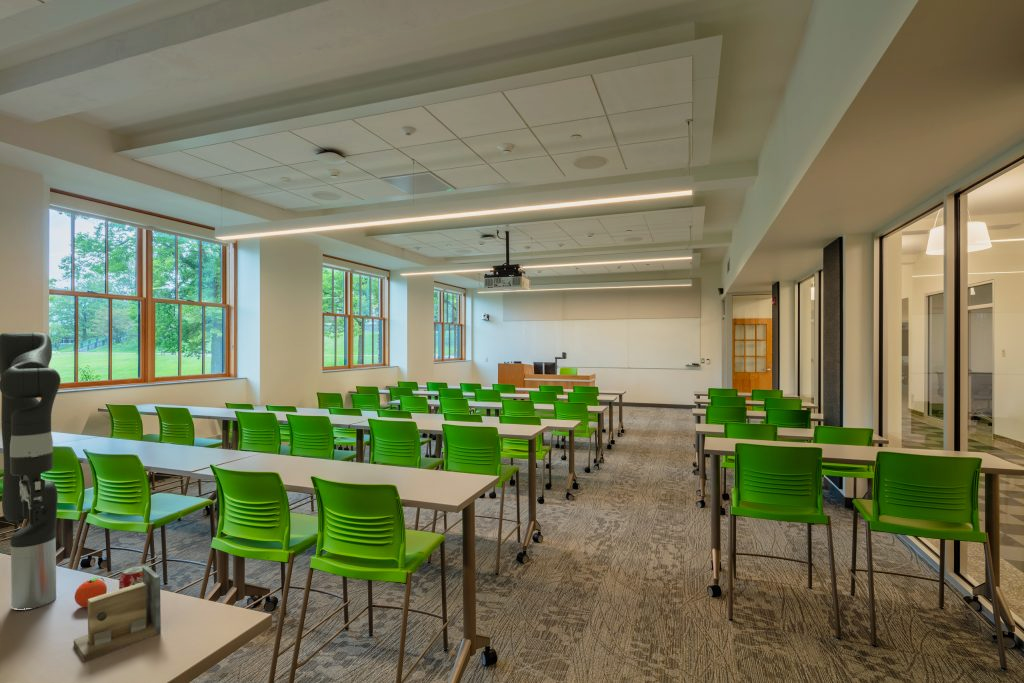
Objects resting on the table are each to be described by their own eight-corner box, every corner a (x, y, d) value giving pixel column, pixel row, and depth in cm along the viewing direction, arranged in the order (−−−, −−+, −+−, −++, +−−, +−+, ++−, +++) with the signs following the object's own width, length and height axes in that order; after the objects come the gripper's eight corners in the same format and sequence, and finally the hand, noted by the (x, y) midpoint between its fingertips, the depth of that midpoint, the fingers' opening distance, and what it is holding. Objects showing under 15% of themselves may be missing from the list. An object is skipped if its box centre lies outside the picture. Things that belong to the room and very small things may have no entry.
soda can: (158, 607, 142) (158, 563, 142) (137, 621, 135) (136, 575, 135) (134, 606, 143) (134, 562, 143) (112, 619, 136) (111, 574, 136)
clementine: (92, 597, 148) (92, 572, 148) (116, 597, 148) (116, 572, 148) (67, 612, 140) (67, 585, 140) (92, 612, 140) (92, 585, 140)
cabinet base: (73, 645, 124) (72, 587, 124) (147, 619, 136) (146, 565, 136) (84, 661, 118) (83, 600, 118) (160, 632, 130) (160, 576, 129)
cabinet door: (88, 641, 123) (87, 599, 123) (143, 621, 132) (142, 582, 132) (92, 646, 121) (91, 603, 121) (147, 626, 130) (147, 586, 130)
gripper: (5, 451, 125) (6, 518, 126) (15, 459, 116) (16, 531, 117) (46, 446, 131) (47, 510, 131) (59, 453, 122) (59, 522, 122)
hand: (32, 520), depth 124 cm, fingers open, 8 cm apart
